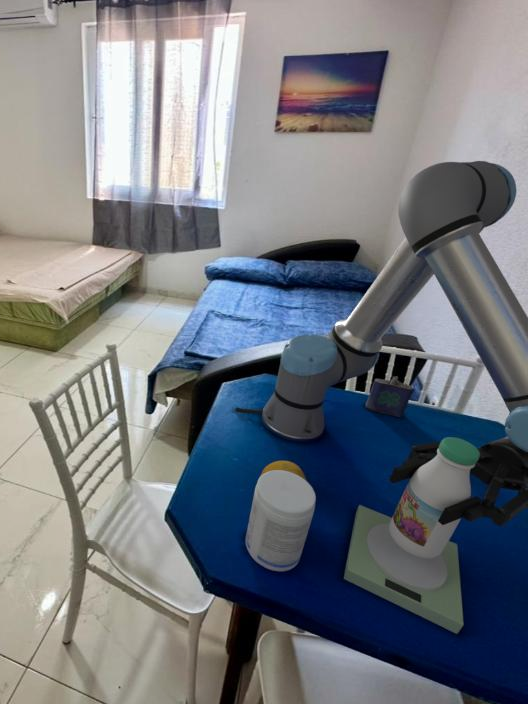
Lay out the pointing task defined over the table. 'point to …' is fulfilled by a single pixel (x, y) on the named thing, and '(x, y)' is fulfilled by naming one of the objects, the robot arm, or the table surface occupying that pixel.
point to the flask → (389, 396)
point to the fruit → (284, 468)
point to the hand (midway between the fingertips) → (417, 494)
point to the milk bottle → (433, 499)
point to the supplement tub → (279, 519)
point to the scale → (404, 572)
